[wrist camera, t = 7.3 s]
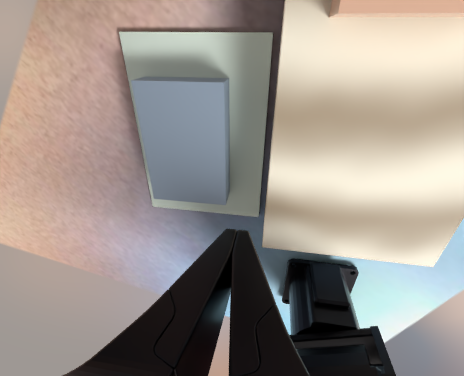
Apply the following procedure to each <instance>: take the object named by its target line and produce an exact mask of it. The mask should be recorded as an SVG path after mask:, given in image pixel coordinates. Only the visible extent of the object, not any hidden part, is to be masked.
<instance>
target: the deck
mask: <svg viewBox="0 0 464 376" xmlns="http://www.w3.org/2000/svg"><path fill="white" fill-rule="evenodd" d="M331 2H332V0H284V10H283V21H282V31H281V42H280V53H279V64H278V74H277V85H276V96H275V106H274V117H273V128H272V139H271V149H270V160H269V171H268V182H267V192H266V203H265V214H264V227H263V242H262V247H264V248H272V249H281V250H290V251H298V252H307V253H316V254H325V255H333V256H342V257H351V258H359V259H368V260H377V261H385V262H394V263H403V264H411V265H420V266H429V267H434V265H435V263H436V262H437V260H438V259H439V257H440V255H441V254H442V252H443V251H444V249H445V247H446V246H447V244H448V242H449V241H450V239H451V238H452V236H453V234H454V233H455V231H456V229H457V228H458V226H459V225H460V223H461V221H462V220H463V218H464V17H350V18H329V14H330V8H331Z"/></svg>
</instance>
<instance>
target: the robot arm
mask: <svg viewBox="0 0 464 376" xmlns="http://www.w3.org/2000/svg"><path fill="white" fill-rule="evenodd" d="M351 271H353V272H351ZM357 276H358V270H357V268H356V267H354V266H348V265H339V264H331V263H323V262H314V261H306V260H297V259H291V260H289V261H288V266H287V271H286V277H285V283H284V288H283V294H282V302H283V303H286V304H290V323H291V335H289V334H288V332H287V330H286V327H285V325H284V322H283V320H282V318H281V315H280V313H279V310H278V307H277V305H276V302H275V300H274V297H273V294H272V292H271V289H270V286H269V284H268V281H267V278H266V276H265V273H264V271H263V268H262V265H261V263H260V260H259V257H258V255H257V252H256V249H255V247H254V244H253V241H252V239H251V236H250V233H249V232H248V231H245V230H238V231H237V230H235V229H226V230H225V231H224V232H223V233H222V234H221V235H220V236H219V237H218V238H217V239H216V240H215V241H214V242H213V243H212V244H211V245H210V246H209V247H208V248H207V249H206V250H205V252H204V253H203V254H202V255H201V256H200V257H199V258H198V259H197V260H196V261H195V262H194V263H193V264H192V265H191V266H190V267H189V268H188V269H187V270H186V271H185V272H184V273H183V274H182V275H181V276H180V277H179V279H178V280H177V281H176V282H175V283H174V284H173V285H172V286H171V287H170V288H169V290H167V291H166V292H165V293H164V294H163V295H162V296H161V297H160V298H159V299H158V300H157V301H156V302H155V303H154V304H153V305H152V306H151V307H150V308H149V309H148V310H147V311H146V312H144V313H143V314H142V315H141V316H140V317H139V318H138V319H137V320H135V321H134V322H133V323H132V324H131V325H130V326H129V327H127V328H126V329H125V330H124V331H123V332H122V333H120V334H119V335H118V336H117V337H116V338H114V339H113V340H112V341H111V342H110V343H108V344H107V345H106V346H105V347H104V348H103V349H101V350H100V351H99V352H98V353H97V354H96V355H94V356H93V357H92V358H91V359H89V360H88V361H86V362H85V363H84V364H82V365H81V366H79V367H78V368H76V369H74V370H73V371H71V372H69V373H67V374H65V375H63V376H208V374H209V370H210V366H211V362H212V359H213V355H214V351H215V348H216V344H217V340H218V336H219V333H220V329H221V326H222V321H223V318H224V314H225V311H226V307H227V303H228V300H229V296H230V292H231V305H230V346H229V376H396V374H395V372H394V369H393V366H392V364H391V361H390V358H389V356H388V353H387V350H386V348H385V345H384V342H383V339H382V337H381V334H380V331H379V329H378V326H371V327H370V328H363V329H360V327H359V324H358V320H357V317H356V313H355V310H354V307H353V303H352V300H351V296H350V293H351V291H352V288H353V286H354V283H355V281H356V278H357Z"/></svg>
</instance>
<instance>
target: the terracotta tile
mask: <svg viewBox="0 0 464 376" xmlns="http://www.w3.org/2000/svg"><path fill="white" fill-rule="evenodd" d="M350 17H464V0H332V2H331V8H330V14H329V18H350Z"/></svg>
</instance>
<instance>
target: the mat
mask: <svg viewBox="0 0 464 376" xmlns="http://www.w3.org/2000/svg"><path fill="white" fill-rule="evenodd" d="M119 35H120V40H121V45H122V50H123V56H124V61H125V66H126V71H127V76H128V81H129V87H130V92H131V97H132V102H133V107H134V112H135V118H136V123H137V128H138V133H139V138H140V143H141V148H142V154H143V159H144V164H145V169H146V174H147V179H148V185H149V190H150V195H151V200H152V205H153V207H161V208H171V209H181V210H191V211H201V212H211V213H221V214H231V215H241V216H251V217H259V206H260V193H261V180H262V168H263V155H264V142H265V130H266V117H267V104H268V91H269V79H270V66H271V53H272V40H273V32H119ZM145 76H146V77H195V78H229V114H230V193H229V197H228V200H227V203H226V205H217V204H206V203H195V202H184V201H173V200H161V199H154V196H153V191H152V186H151V181H150V176H149V171H148V166H147V160H146V155H145V150H144V145H143V140H142V135H141V130H140V125H139V119H138V114H137V109H136V104H135V99H134V94H133V89H132V84H131V80H134V79H138V78H141V77H145Z"/></svg>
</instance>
